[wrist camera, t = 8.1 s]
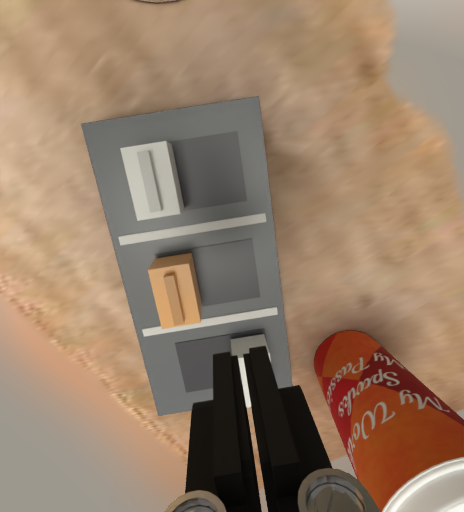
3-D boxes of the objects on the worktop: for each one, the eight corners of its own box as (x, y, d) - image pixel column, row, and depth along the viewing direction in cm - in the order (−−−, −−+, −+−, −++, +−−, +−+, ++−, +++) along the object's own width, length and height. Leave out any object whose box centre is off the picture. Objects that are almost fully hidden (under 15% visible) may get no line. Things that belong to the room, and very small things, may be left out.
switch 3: (230, 339, 23) (232, 364, 20) (263, 333, 23) (271, 358, 20) (238, 384, 24) (241, 415, 21) (270, 379, 24) (278, 408, 21)
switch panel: (98, 129, 22) (80, 123, 19) (252, 105, 22) (258, 95, 19) (164, 390, 28) (158, 417, 25) (285, 370, 28) (293, 394, 25)
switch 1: (131, 150, 19) (116, 147, 16) (171, 144, 19) (164, 139, 16) (146, 214, 21) (134, 222, 18) (184, 208, 21) (179, 215, 18)
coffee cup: (361, 300, 27) (532, 453, 12) (407, 364, 29) (599, 560, 15) (281, 355, 28) (354, 555, 14) (331, 413, 30) (440, 642, 16)
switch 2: (155, 258, 21) (145, 273, 18) (191, 252, 21) (188, 266, 18) (167, 311, 22) (160, 334, 19) (202, 306, 22) (200, 327, 19)
